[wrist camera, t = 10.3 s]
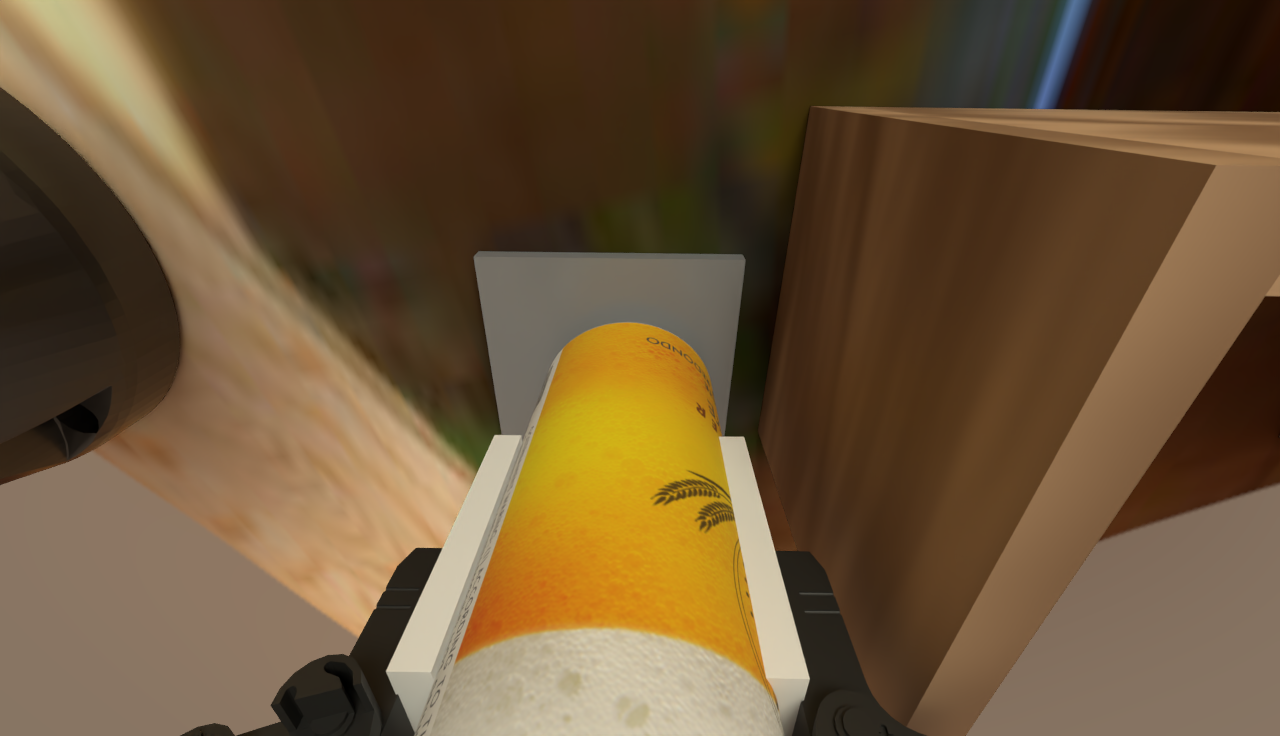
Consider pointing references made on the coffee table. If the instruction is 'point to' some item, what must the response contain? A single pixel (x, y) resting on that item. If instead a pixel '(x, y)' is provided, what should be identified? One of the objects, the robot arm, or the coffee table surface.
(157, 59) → the coffee table surface
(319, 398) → the coffee table surface
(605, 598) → the beer can
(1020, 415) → the wooden monitor riser
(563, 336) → the slate coaster
